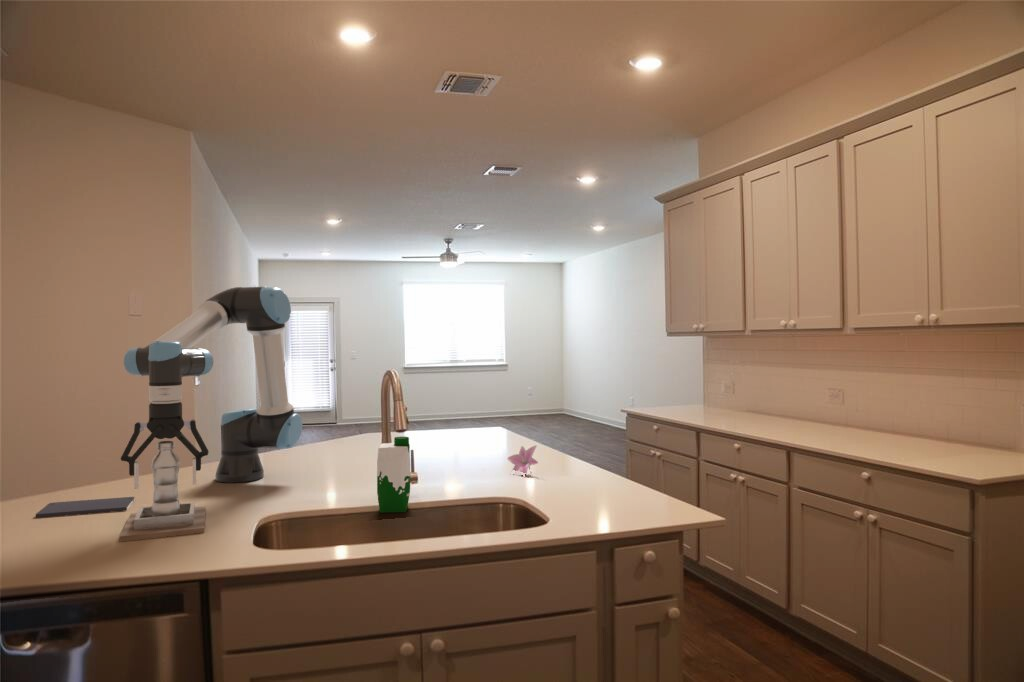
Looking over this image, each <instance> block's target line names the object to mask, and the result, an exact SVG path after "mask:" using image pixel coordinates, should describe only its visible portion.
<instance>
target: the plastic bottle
mask: <svg viewBox="0 0 1024 682" xmlns="http://www.w3.org/2000/svg"><path fill="white" fill-rule="evenodd" d="M156 448H157V450H158V451H157V453H156V454H155V455H154V456H153V458H152V460H151V462H150V463H151V471H152V472H151V473H152V478H153V500H152V504H151V506H152V510H151V513H152V517H159V516H170V515H179V514H180V500H179V492H178V485H179V484H178V481H179V479H178V478H179V471H180V465H181V462H180V459H179V456H178V455H177V454H176V453H175V452H174V450H175V441H174V440H163V441H162V440H161V441H158V442H157V447H156Z"/></svg>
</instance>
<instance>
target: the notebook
mask: <svg viewBox="0 0 1024 682" xmlns="http://www.w3.org/2000/svg"><path fill="white" fill-rule="evenodd" d="M134 502H135V496H126V497H125V496H124V497H112V498H111V497H110V498H100V499H99V498H98V499H85V500H70V501H69V500H67V501H56V502H55V501H54V502H49V503H48V504H46V505H45V506H44V507H43V508H42V509H40V510H39V511H37V512H36V513H35V519H40V518H50V517H52V518H53V517H54V516H55V517H65V515H67V516H78V515H77V514H80V515H89V514H88V513H92V514H100V513H99V512H105V513H111V512H110V511H117V512H124V511H123V510H127V511H128V509H129V507H130V506H131V505H132V504H133V503H134ZM131 503H132V504H131ZM130 504H131V505H130ZM127 508H128V509H127Z"/></svg>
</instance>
